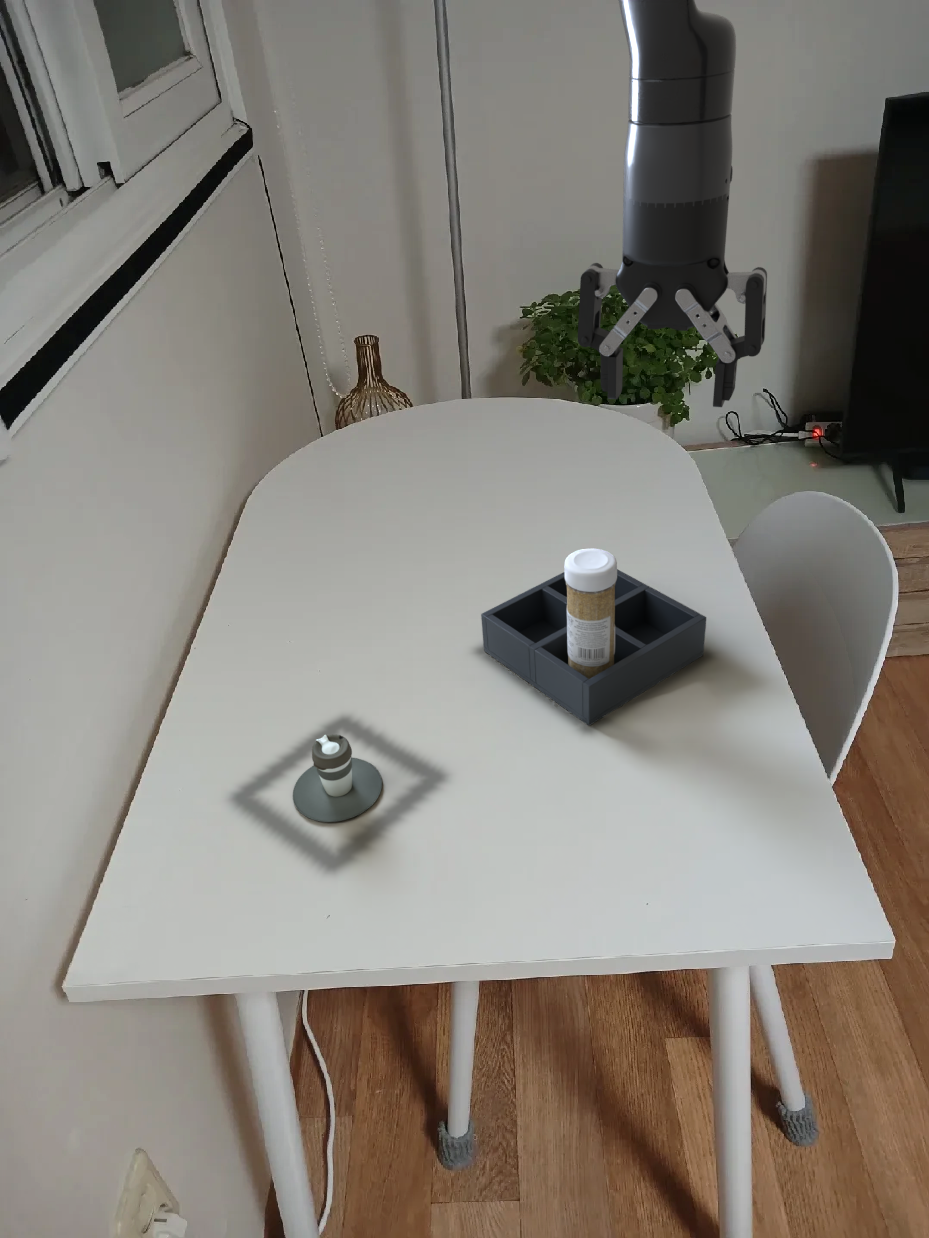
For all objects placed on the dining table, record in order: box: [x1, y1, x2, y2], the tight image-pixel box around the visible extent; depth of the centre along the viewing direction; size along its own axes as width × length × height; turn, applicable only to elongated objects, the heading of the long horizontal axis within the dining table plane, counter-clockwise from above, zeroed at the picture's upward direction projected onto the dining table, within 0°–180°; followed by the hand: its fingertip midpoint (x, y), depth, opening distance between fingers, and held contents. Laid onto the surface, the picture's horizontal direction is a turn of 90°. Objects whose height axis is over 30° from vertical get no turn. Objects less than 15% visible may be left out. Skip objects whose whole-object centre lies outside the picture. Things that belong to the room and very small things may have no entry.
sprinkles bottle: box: [564, 547, 618, 679], centre depth 87 cm, size 5×5×14 cm
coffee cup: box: [292, 734, 383, 823], centre depth 81 cm, size 12×12×5 cm
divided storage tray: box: [480, 568, 707, 726], centre depth 94 cm, size 15×15×5 cm
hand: (666, 399), depth 78 cm, fingers open, 8 cm apart
